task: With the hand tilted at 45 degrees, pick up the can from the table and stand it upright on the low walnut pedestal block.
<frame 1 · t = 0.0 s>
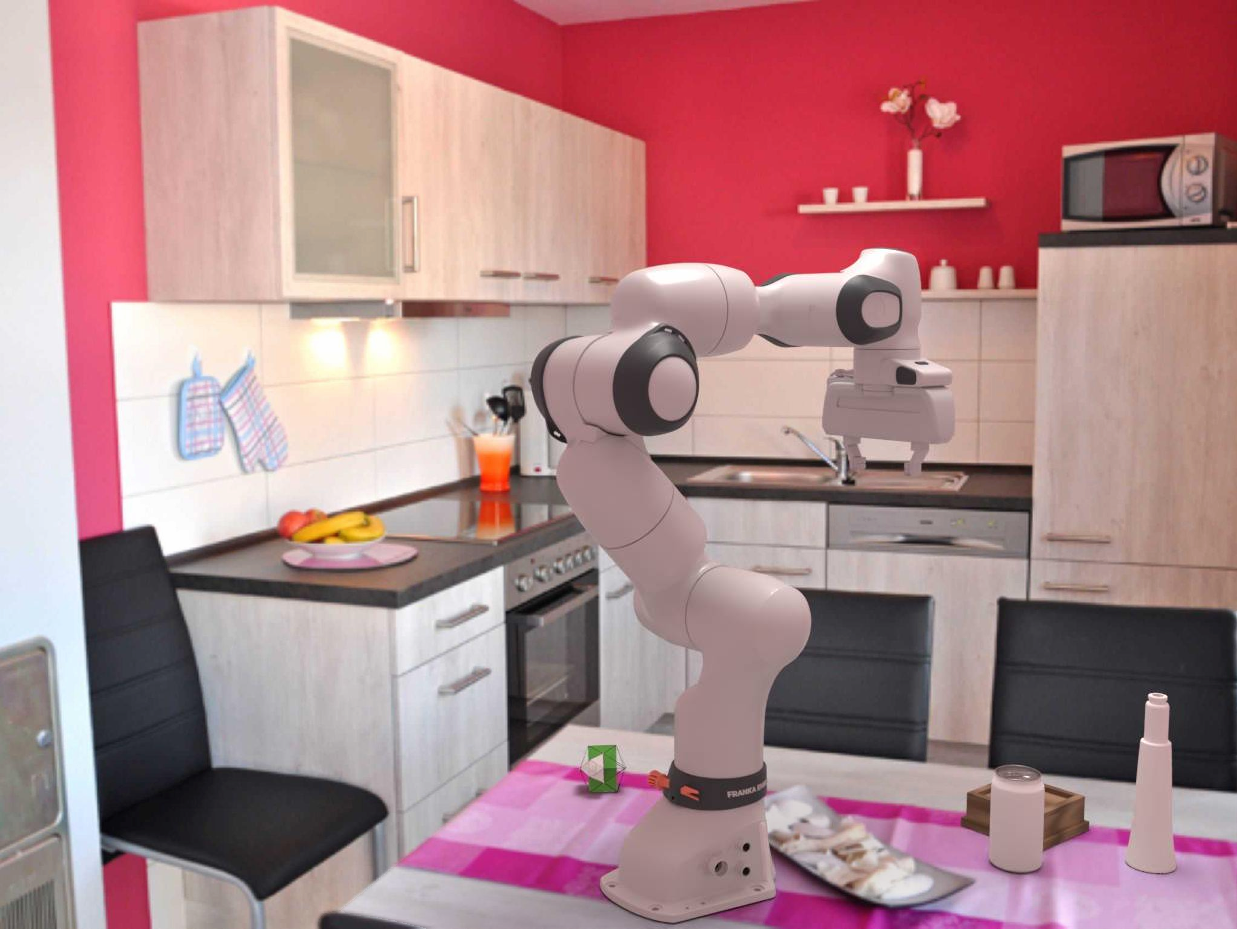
hand: (884, 472, 178), 48 cm above the table, tool pointing down, fingers open, 8 cm apart
pink bottle: (1150, 865, 166), on the table
pedestal: (1024, 827, 178), on the table
can: (1015, 865, 167), on the table
geometric puzzle: (602, 790, 193), on the table
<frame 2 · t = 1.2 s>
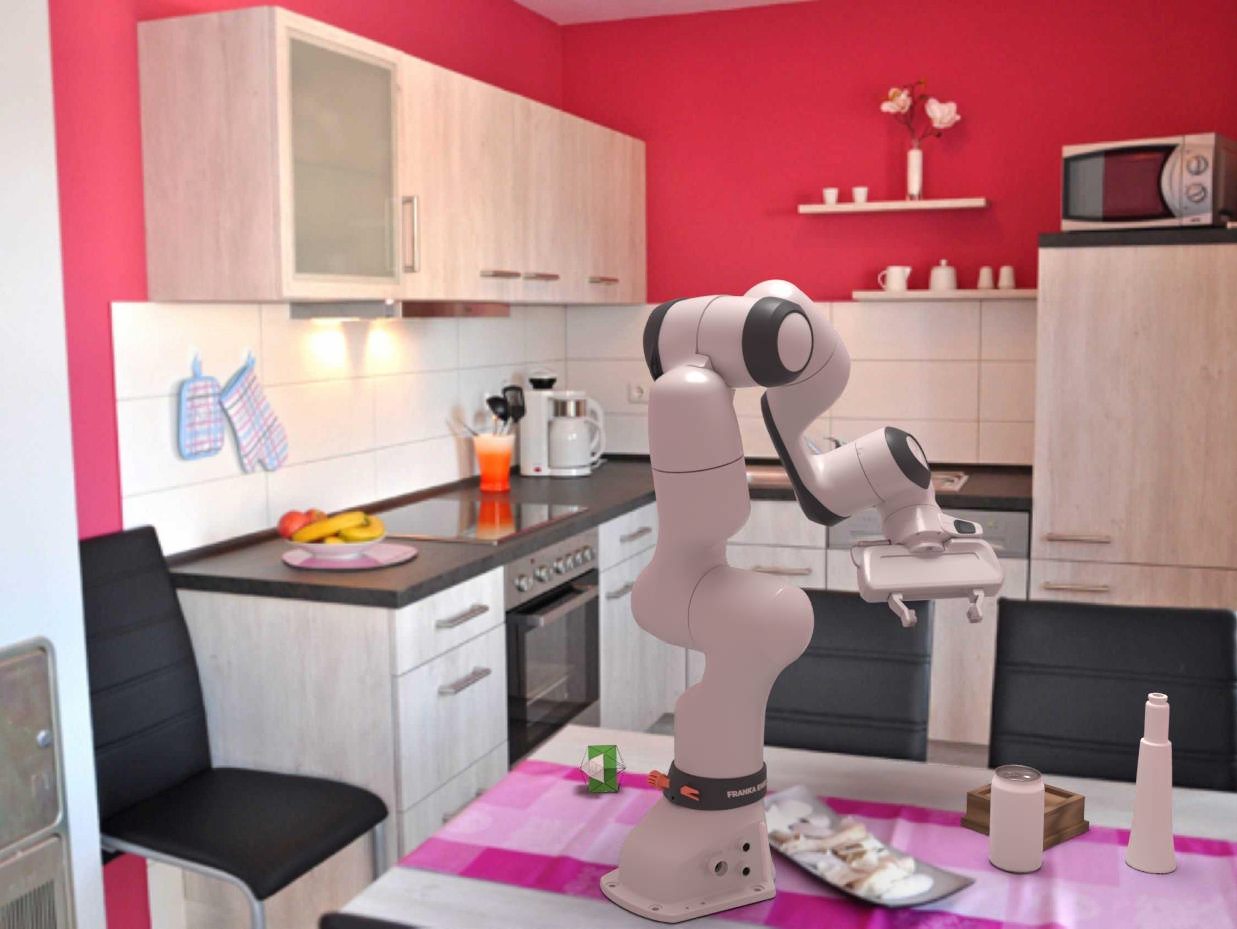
hand: (943, 622, 178), 28 cm above the table, tool tilted 45°, fingers open, 8 cm apart
nothing on the table moved.
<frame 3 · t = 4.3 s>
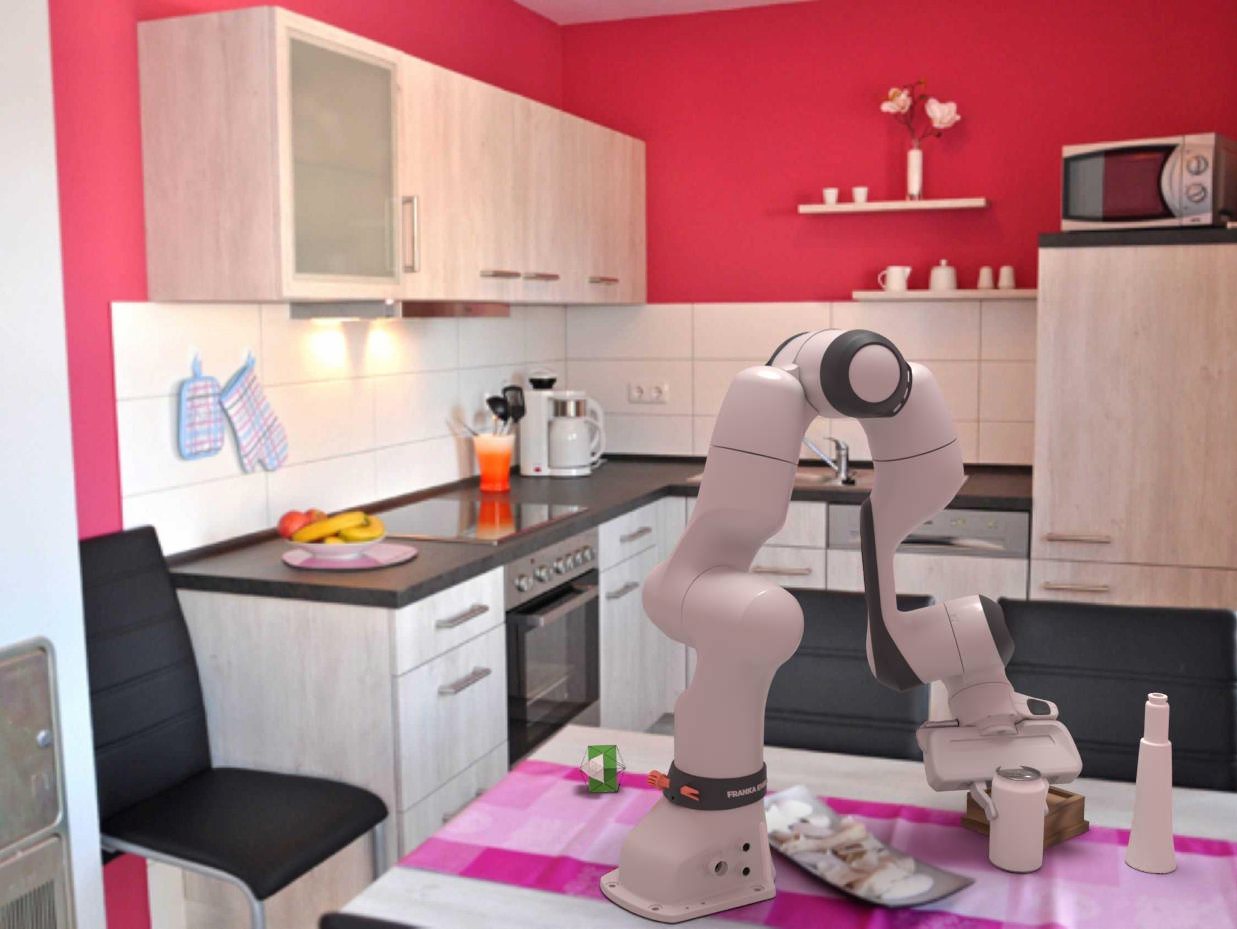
hand: (1018, 817, 165), 6 cm above the table, tool tilted 45°, fingers closed on can, 5 cm apart
can: (1015, 864, 167), on the table, touching gripper
everything else where it was.
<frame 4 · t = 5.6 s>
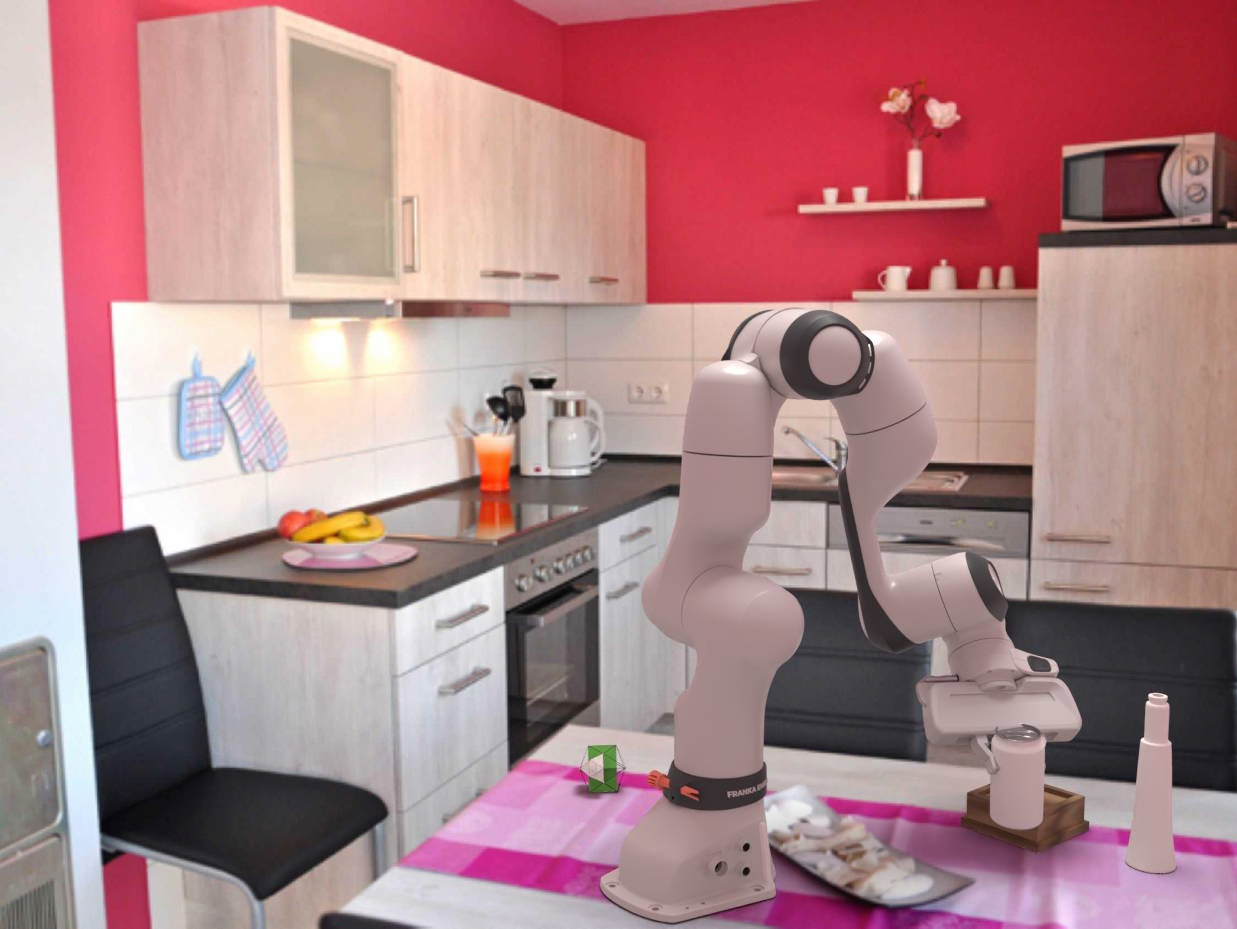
hand: (1017, 771, 164), 12 cm above the table, tool tilted 45°, fingers closed on can, 4 cm apart
can: (1016, 820, 167), point 5 cm above the table, touching gripper
everything else where it was.
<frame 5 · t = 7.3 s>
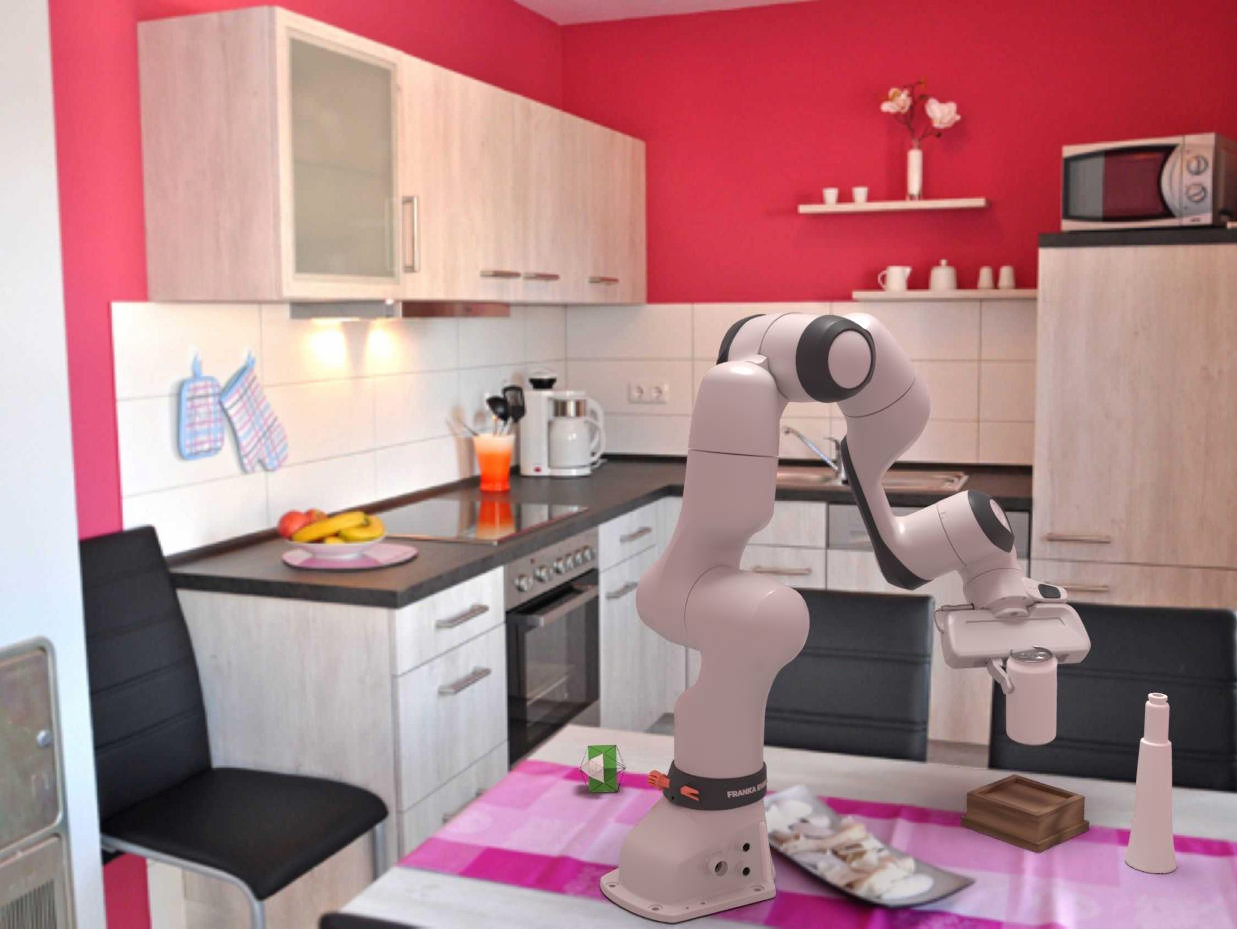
hand: (1031, 691, 175), 19 cm above the table, tool tilted 45°, fingers closed on can, 4 cm apart
can: (1031, 737, 178), point 12 cm above the table, touching gripper
everything else where it was.
when the fingers open (11 cm above the table, at t = 9.4 s): can stays where it is, resting on pedestal.
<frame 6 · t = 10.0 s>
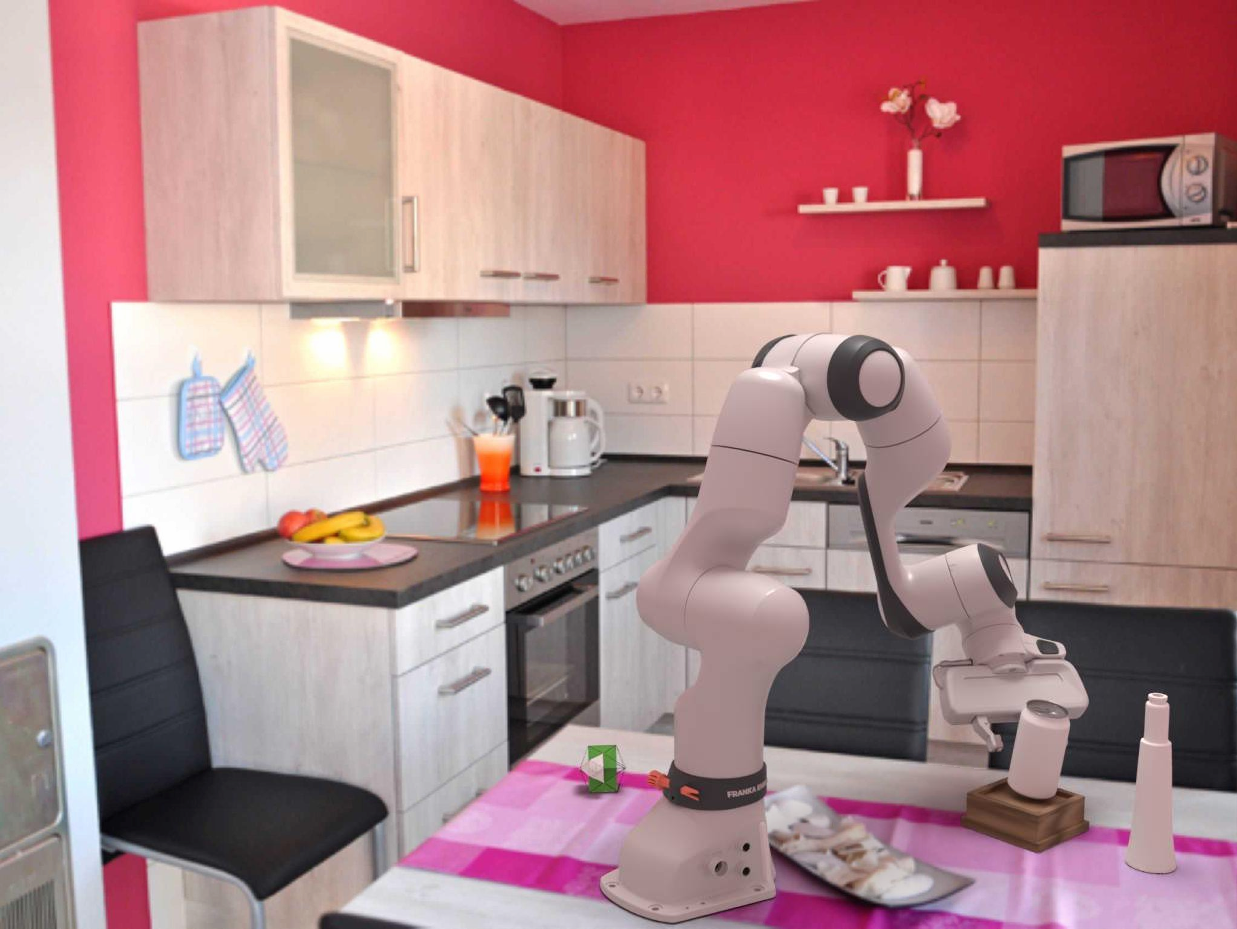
hand: (1029, 748, 176), 11 cm above the table, tool tilted 45°, fingers open, 8 cm apart
can: (1030, 790, 179), point 5 cm above the table, touching gripper, pedestal
everything else where it was.
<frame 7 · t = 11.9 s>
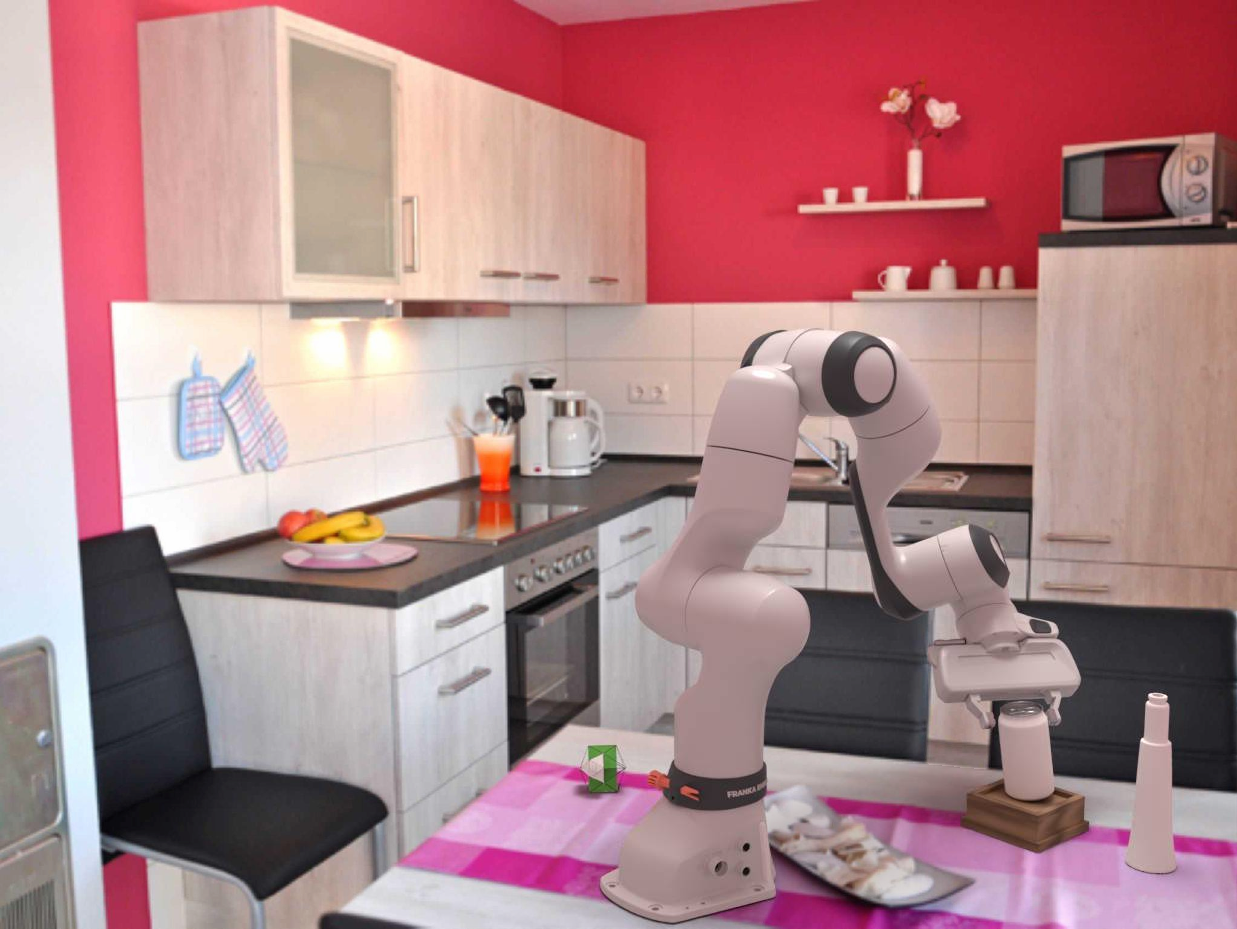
hand: (1021, 725, 178), 14 cm above the table, tool tilted 45°, fingers open, 8 cm apart
can: (1030, 793, 179), point 4 cm above the table, touching pedestal
everything else where it was.
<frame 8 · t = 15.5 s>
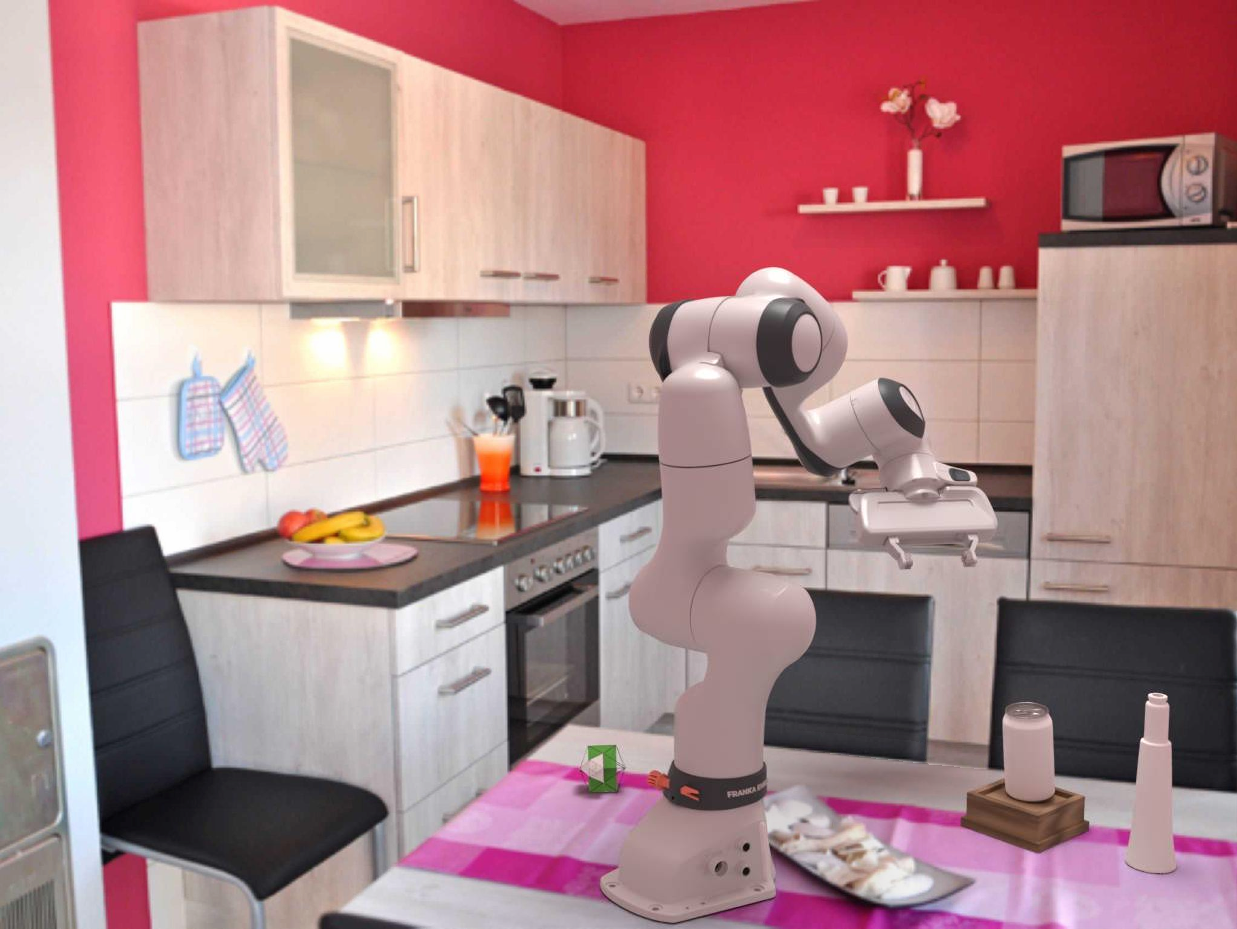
hand: (939, 566, 183), 34 cm above the table, tool tilted 45°, fingers open, 8 cm apart
nothing on the table moved.
at the end: can inside the target area on the pedestal (1.7 cm from its centre), point 4.2 cm above the pedestal's base; can tilted 7°; the gripper is holding nothing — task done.
